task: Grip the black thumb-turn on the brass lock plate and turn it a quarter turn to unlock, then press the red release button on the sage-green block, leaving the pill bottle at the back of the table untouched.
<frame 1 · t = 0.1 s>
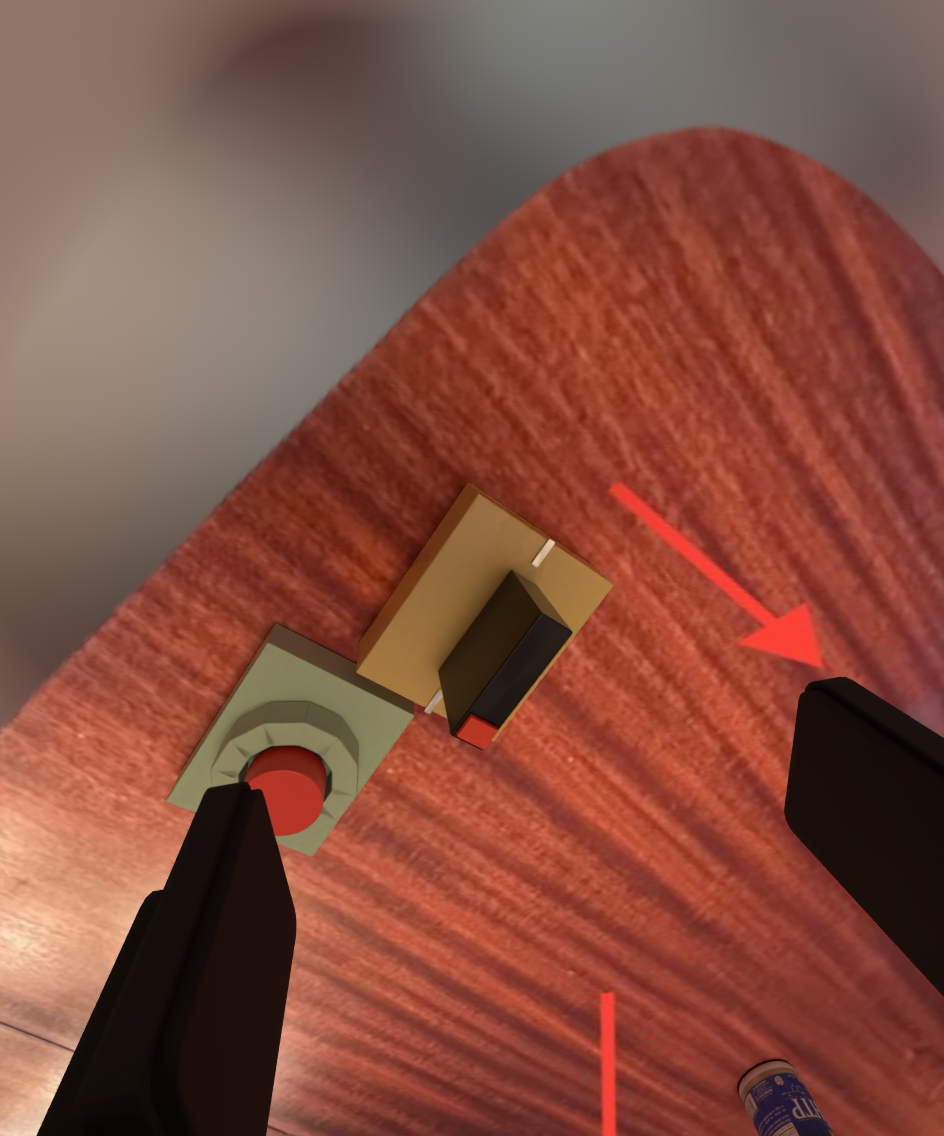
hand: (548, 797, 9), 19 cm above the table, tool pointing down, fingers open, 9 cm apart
button block: (297, 731, 29), on the table
release button: (284, 790, 25), point 4 cm above the table, slide at 0.1 cm
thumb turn: (498, 655, 23), point 6 cm above the table, hinge at 0.0°
pill bottle: (763, 1076, 47), on the table
lock plate: (476, 603, 28), on the table
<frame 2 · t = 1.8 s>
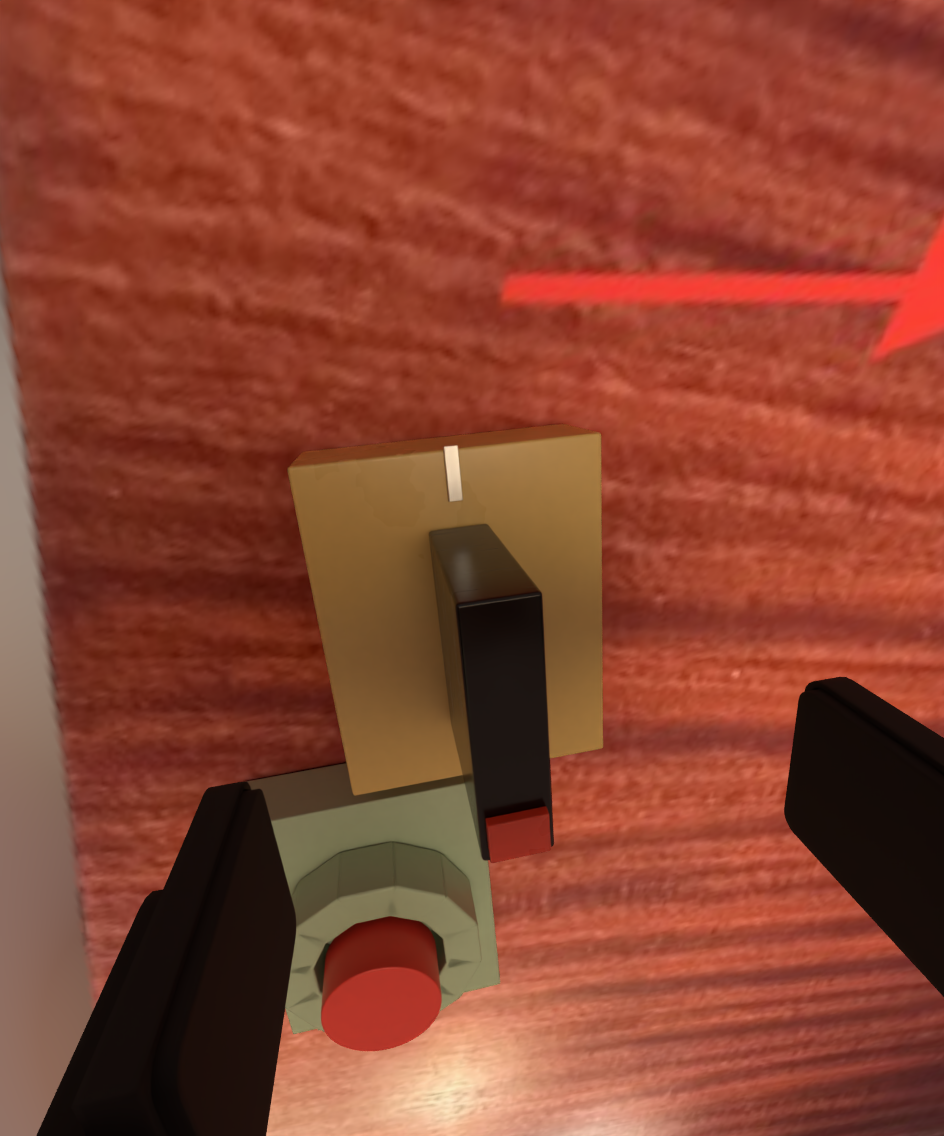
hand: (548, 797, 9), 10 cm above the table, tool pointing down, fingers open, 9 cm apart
button block: (379, 864, 21), on the table
release button: (381, 981, 17), point 4 cm above the table, slide at 0.1 cm
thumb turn: (486, 677, 13), point 6 cm above the table, hinge at 0.0°
lock plate: (453, 590, 18), on the table
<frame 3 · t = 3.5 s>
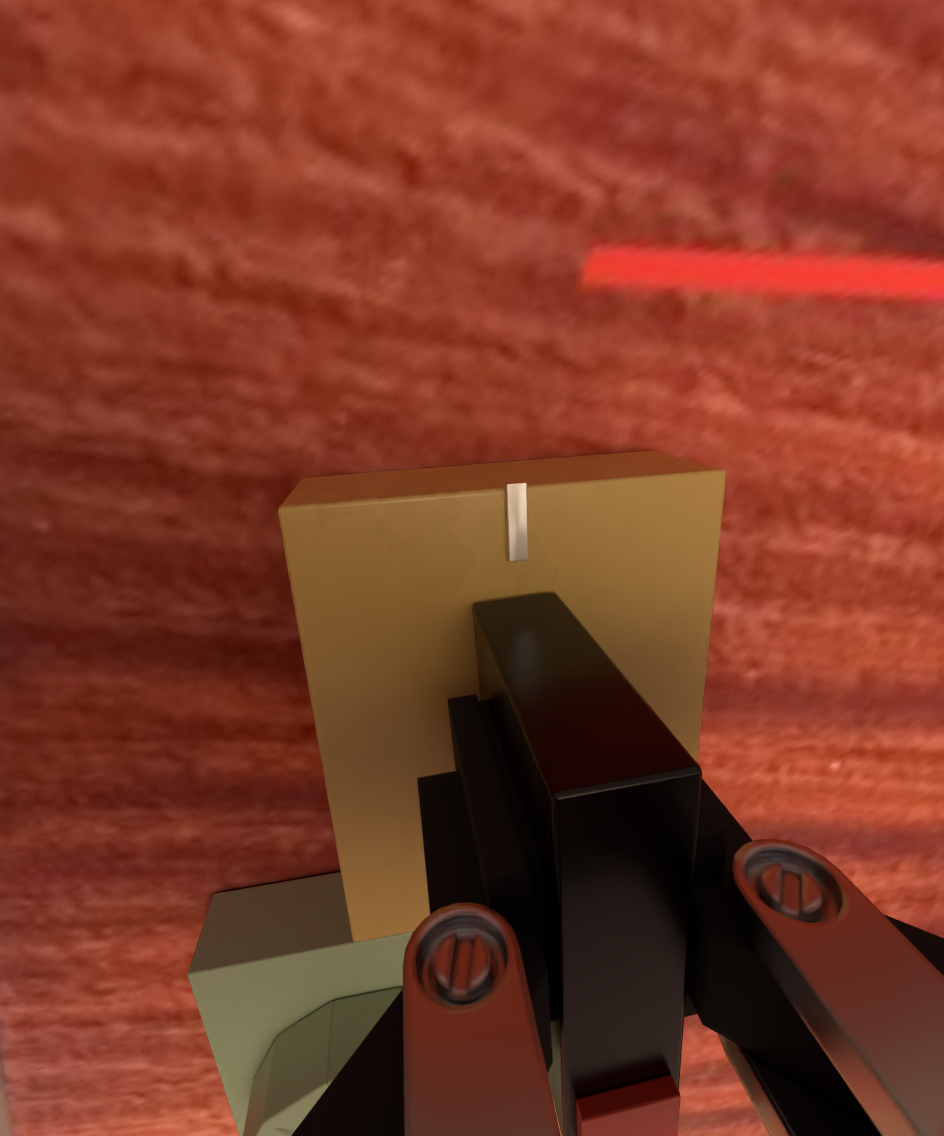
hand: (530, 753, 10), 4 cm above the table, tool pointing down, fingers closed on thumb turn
button block: (381, 989, 17), on the table
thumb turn: (562, 832, 9), point 6 cm above the table, hinge at 1.7°, touching gripper
lock plate: (492, 660, 14), on the table
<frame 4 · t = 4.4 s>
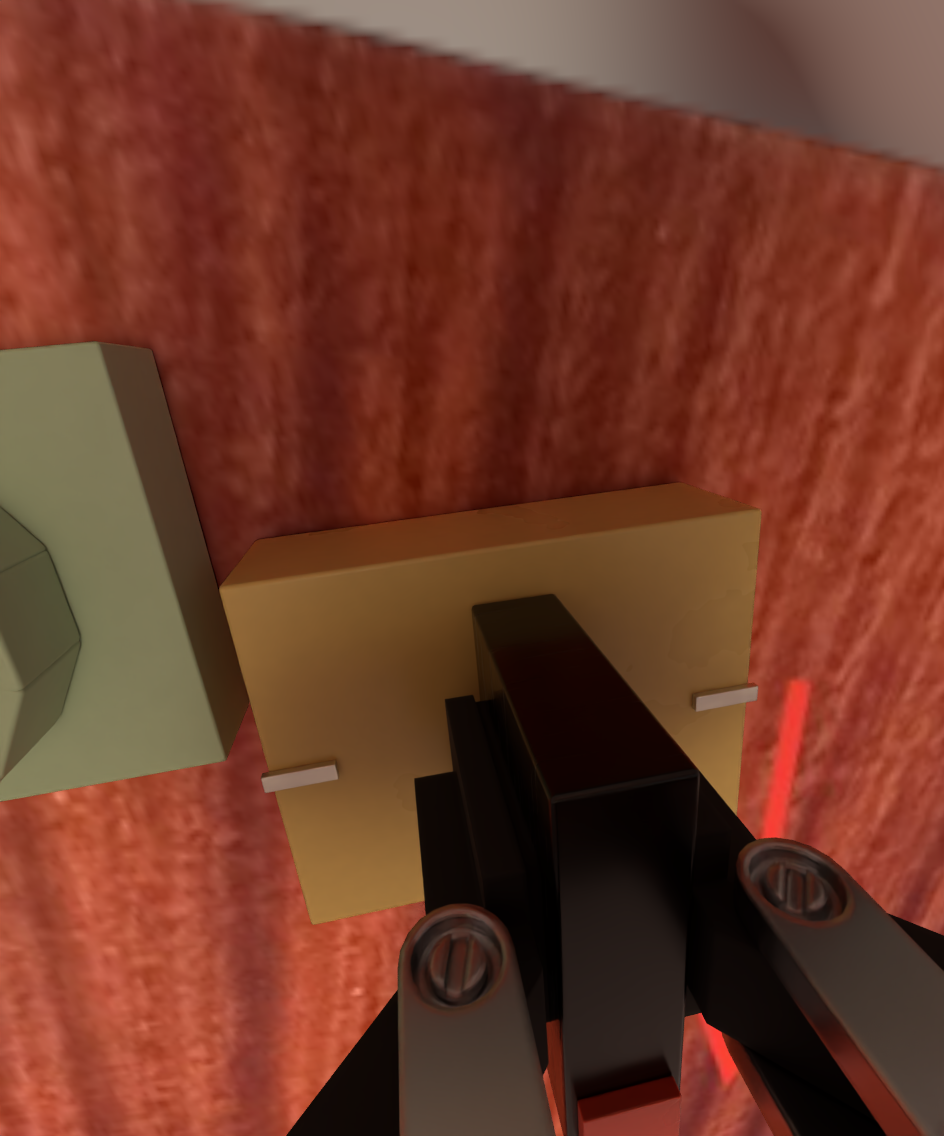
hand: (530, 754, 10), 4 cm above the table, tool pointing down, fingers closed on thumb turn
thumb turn: (562, 834, 9), point 6 cm above the table, hinge at 89.4°, touching gripper
lock plate: (493, 661, 14), on the table
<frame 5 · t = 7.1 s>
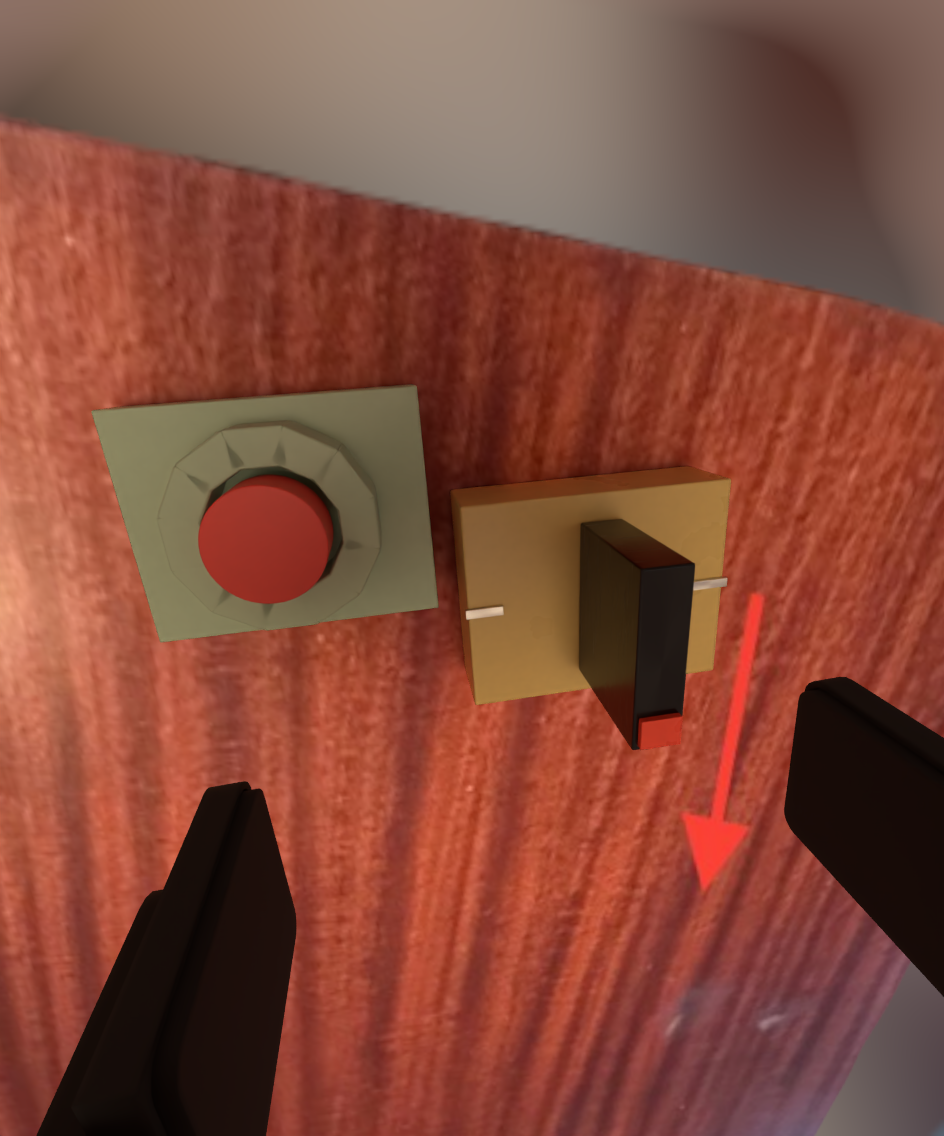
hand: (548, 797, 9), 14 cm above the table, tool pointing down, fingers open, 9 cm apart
button block: (292, 505, 21), on the table
release button: (270, 538, 17), point 4 cm above the table, slide at 0.1 cm
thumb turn: (628, 627, 18), point 6 cm above the table, hinge at 89.4°
lock plate: (573, 569, 23), on the table
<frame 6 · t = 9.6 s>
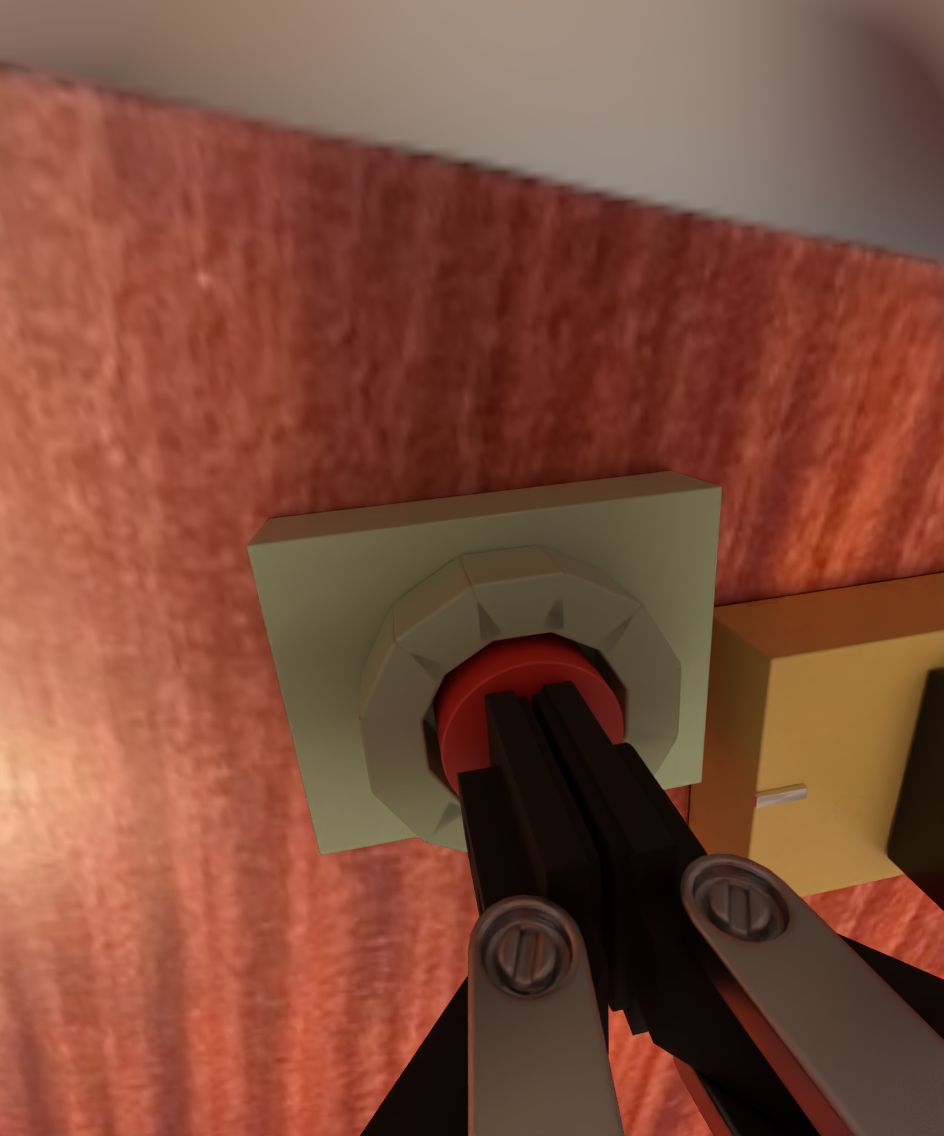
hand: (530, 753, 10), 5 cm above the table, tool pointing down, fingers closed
button block: (491, 639, 15), on the table
release button: (523, 718, 11), point 4 cm above the table, slide at -0.8 cm, touching gripper
lock plate: (841, 701, 17), on the table
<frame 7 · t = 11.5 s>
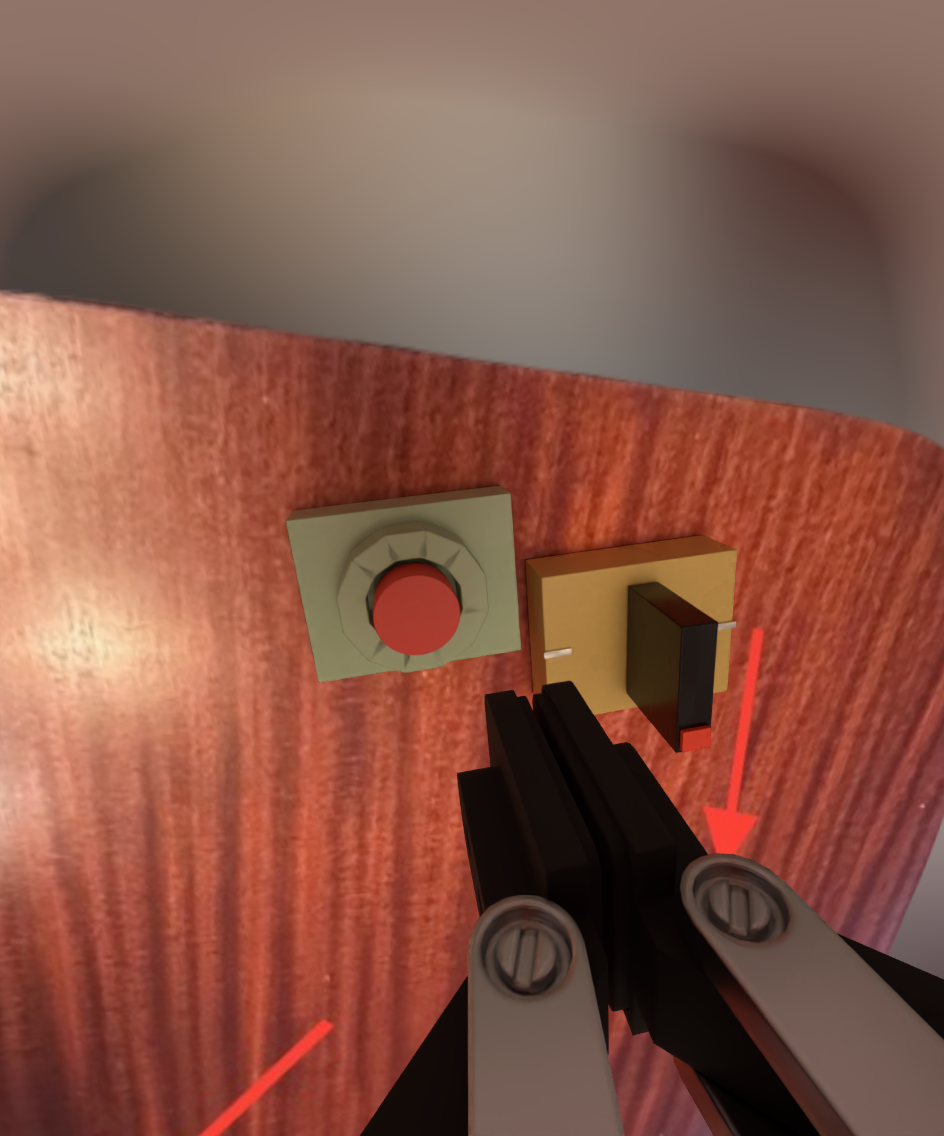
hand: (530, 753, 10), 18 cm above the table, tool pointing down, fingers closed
button block: (409, 575, 28), on the table
release button: (415, 608, 23), point 4 cm above the table, slide at 0.1 cm
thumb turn: (667, 663, 25), point 6 cm above the table, hinge at 89.4°
lock plate: (616, 615, 30), on the table
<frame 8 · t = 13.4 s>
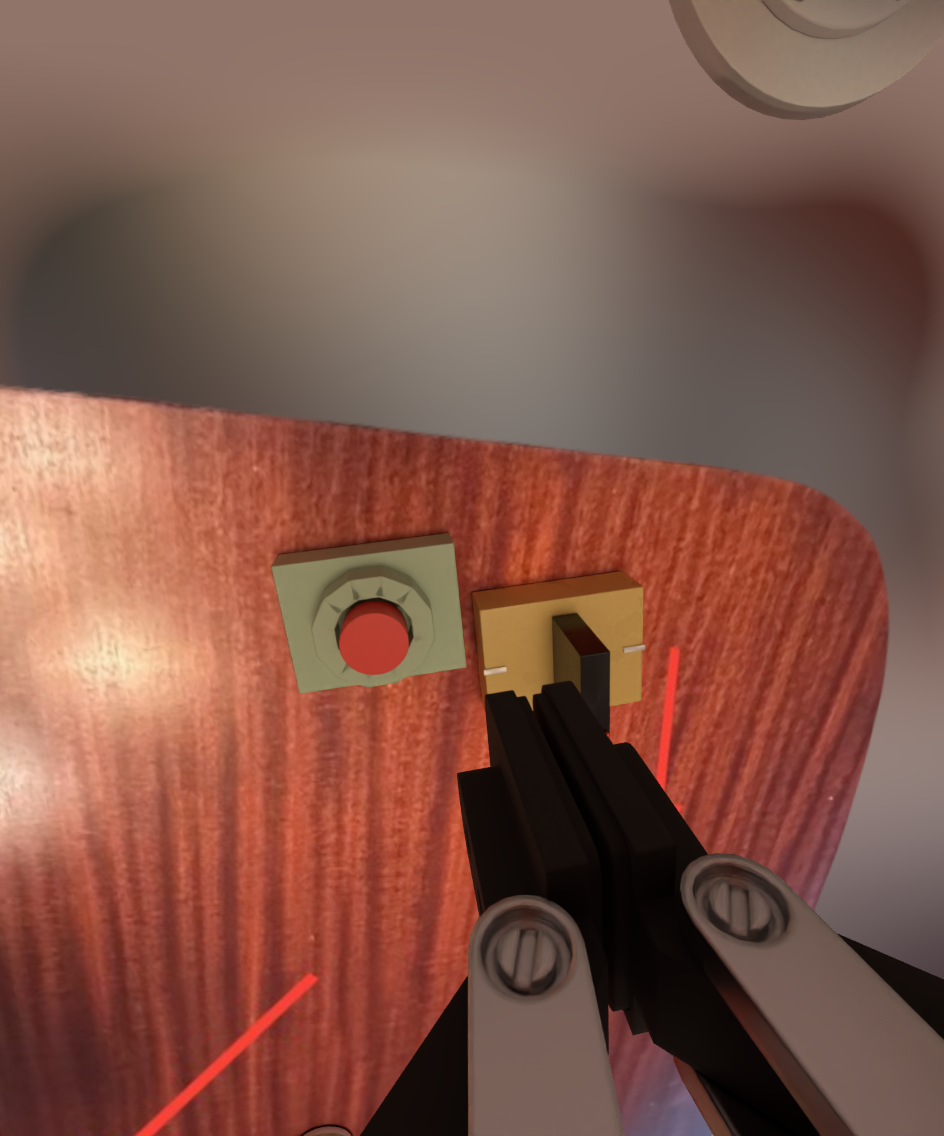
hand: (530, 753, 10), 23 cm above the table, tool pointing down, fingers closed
button block: (375, 605, 34), on the table
release button: (374, 637, 29), point 4 cm above the table, slide at 0.1 cm
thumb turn: (580, 681, 31), point 6 cm above the table, hinge at 89.4°
lock plate: (550, 637, 36), on the table
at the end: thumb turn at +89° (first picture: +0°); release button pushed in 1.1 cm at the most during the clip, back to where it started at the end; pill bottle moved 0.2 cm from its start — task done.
